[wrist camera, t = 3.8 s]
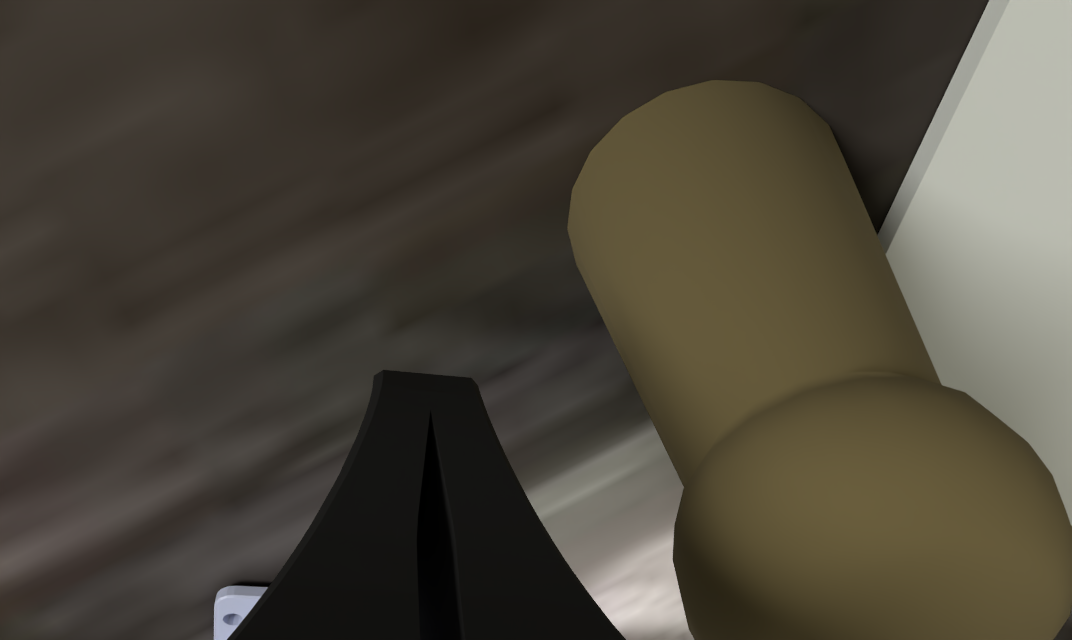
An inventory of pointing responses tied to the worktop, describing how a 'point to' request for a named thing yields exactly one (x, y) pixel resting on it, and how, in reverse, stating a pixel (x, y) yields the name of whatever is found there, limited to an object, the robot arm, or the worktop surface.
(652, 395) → the cork
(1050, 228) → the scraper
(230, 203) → the worktop surface
